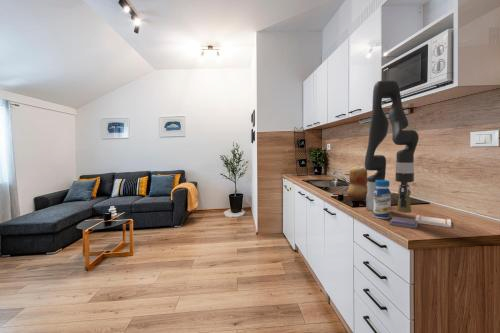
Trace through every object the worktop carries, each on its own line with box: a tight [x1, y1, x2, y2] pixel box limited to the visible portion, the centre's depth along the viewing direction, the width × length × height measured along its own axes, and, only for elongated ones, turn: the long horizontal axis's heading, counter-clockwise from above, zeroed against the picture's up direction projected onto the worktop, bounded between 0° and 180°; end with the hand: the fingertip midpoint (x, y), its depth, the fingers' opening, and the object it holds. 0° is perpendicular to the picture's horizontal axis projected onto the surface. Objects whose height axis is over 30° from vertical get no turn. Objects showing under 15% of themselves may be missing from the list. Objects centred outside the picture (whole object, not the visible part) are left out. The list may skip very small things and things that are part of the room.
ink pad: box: [388, 216, 419, 230], centre depth 118 cm, size 11×10×2 cm
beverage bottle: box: [372, 179, 392, 220], centre depth 130 cm, size 8×8×20 cm
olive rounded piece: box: [396, 188, 412, 214], centre depth 117 cm, size 6×6×11 cm
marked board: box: [414, 215, 452, 229], centre depth 120 cm, size 14×12×1 cm
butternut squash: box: [346, 165, 368, 203], centre depth 170 cm, size 14×13×25 cm
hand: (404, 206), depth 117 cm, fingers closed on olive rounded piece, 4 cm apart
